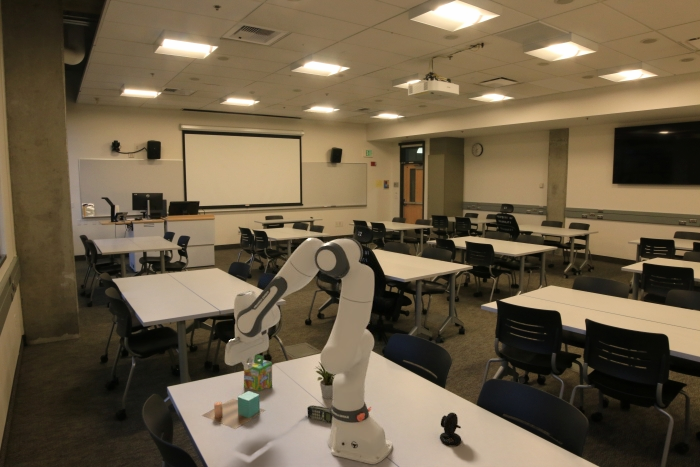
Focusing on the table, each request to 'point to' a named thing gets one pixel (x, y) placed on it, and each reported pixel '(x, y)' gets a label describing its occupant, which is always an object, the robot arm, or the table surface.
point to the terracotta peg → (218, 410)
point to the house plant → (326, 383)
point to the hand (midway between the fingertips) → (248, 368)
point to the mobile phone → (320, 413)
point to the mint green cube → (248, 404)
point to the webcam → (450, 429)
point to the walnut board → (230, 415)
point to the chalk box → (258, 374)
